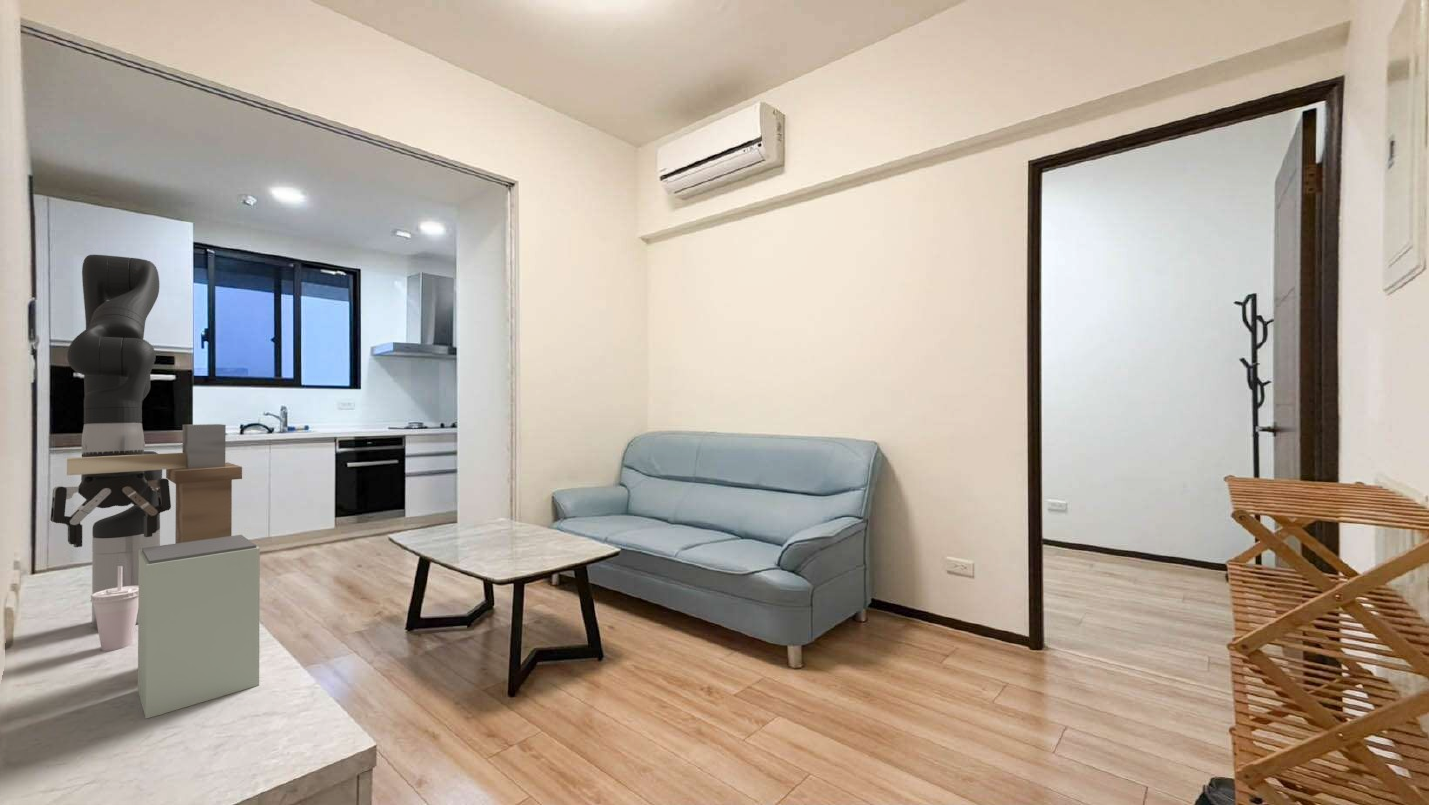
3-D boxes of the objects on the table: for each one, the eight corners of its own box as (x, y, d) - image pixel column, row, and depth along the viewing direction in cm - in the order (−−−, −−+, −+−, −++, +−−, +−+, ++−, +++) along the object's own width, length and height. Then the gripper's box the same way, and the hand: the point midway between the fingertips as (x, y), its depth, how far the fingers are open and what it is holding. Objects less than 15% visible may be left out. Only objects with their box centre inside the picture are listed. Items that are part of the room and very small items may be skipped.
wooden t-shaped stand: (164, 656, 94) (166, 466, 95) (227, 640, 100) (228, 462, 101) (174, 678, 86) (175, 471, 87) (241, 660, 93) (242, 466, 93)
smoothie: (107, 655, 95) (108, 572, 95) (79, 652, 96) (80, 570, 96) (152, 640, 101) (153, 562, 101) (125, 637, 102) (126, 560, 102)
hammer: (66, 473, 85) (67, 426, 85) (217, 464, 98) (217, 424, 98) (67, 476, 80) (67, 427, 80) (225, 466, 93) (225, 424, 93)
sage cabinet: (137, 690, 83) (138, 548, 83) (242, 662, 92) (243, 534, 92) (145, 719, 75) (146, 562, 75) (259, 685, 84) (259, 545, 84)
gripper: (162, 447, 107) (163, 532, 106) (47, 452, 95) (47, 548, 94) (174, 446, 103) (175, 535, 102) (56, 451, 91) (56, 552, 90)
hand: (114, 541), depth 98 cm, fingers open, 8 cm apart
